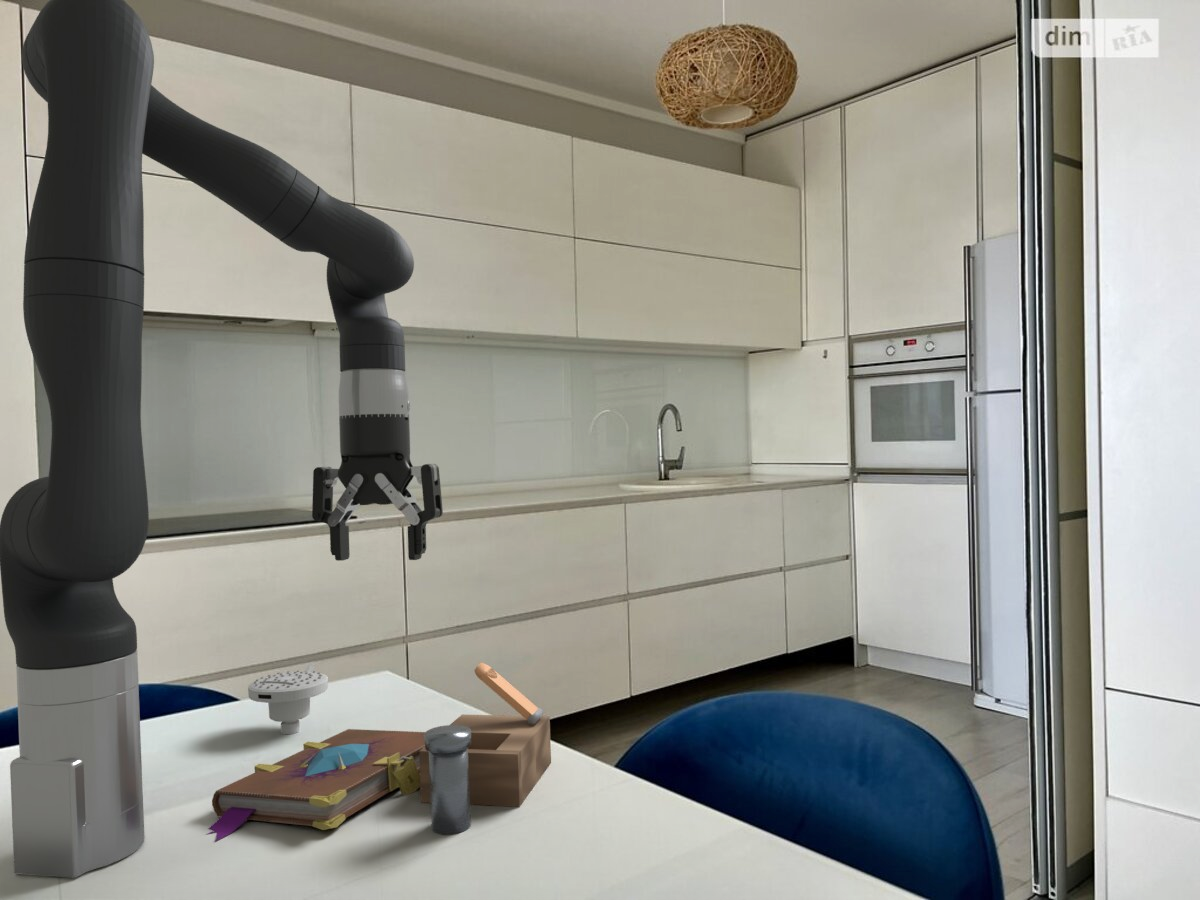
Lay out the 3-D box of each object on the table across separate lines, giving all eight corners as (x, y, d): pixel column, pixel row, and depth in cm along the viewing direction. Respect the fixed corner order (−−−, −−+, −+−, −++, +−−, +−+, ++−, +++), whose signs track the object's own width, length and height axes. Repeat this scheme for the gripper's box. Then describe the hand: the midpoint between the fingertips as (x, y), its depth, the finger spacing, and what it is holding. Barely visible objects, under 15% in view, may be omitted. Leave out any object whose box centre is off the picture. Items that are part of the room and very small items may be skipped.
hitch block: (519, 806, 86) (517, 754, 86) (421, 802, 88) (419, 751, 88) (551, 762, 98) (549, 716, 98) (463, 759, 100) (461, 714, 100)
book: (172, 847, 83) (168, 793, 83) (347, 758, 105) (343, 715, 106) (313, 864, 76) (308, 805, 76) (467, 765, 99) (463, 719, 99)
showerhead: (345, 664, 116) (297, 684, 106) (347, 720, 116) (299, 746, 106) (282, 661, 119) (230, 681, 109) (284, 716, 119) (233, 741, 109)
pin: (465, 837, 80) (461, 740, 80) (420, 835, 80) (416, 739, 80) (480, 817, 84) (477, 725, 84) (438, 815, 85) (434, 724, 85)
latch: (532, 727, 95) (538, 719, 95) (470, 673, 96) (475, 665, 96) (539, 718, 97) (545, 711, 97) (478, 666, 99) (484, 659, 99)
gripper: (297, 414, 97) (302, 564, 97) (423, 409, 95) (428, 563, 95) (329, 416, 105) (334, 556, 105) (447, 411, 102) (451, 555, 102)
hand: (378, 559), depth 100 cm, fingers open, 8 cm apart
